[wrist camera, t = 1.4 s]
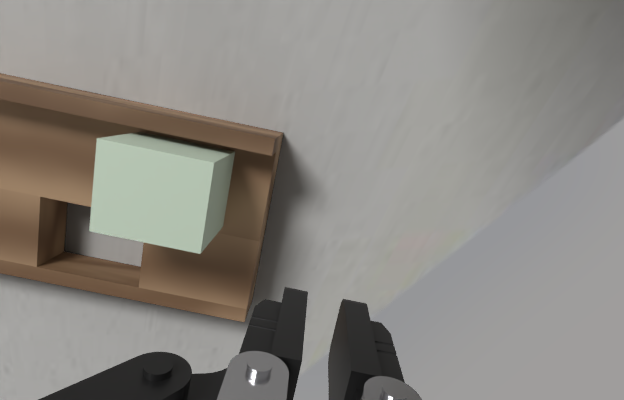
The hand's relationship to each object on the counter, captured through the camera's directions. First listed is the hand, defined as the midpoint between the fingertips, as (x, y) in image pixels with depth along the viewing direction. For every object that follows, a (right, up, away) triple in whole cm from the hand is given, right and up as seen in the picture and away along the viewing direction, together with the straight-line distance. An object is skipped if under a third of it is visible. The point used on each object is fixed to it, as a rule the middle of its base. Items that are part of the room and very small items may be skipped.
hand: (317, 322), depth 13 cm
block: (-8, +5, +13) cm, 17 cm away
